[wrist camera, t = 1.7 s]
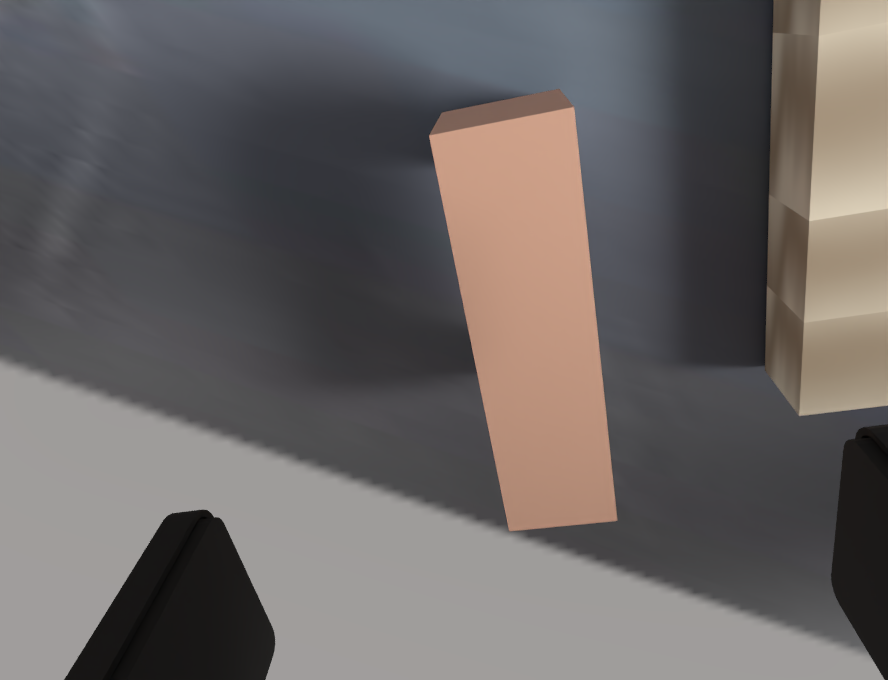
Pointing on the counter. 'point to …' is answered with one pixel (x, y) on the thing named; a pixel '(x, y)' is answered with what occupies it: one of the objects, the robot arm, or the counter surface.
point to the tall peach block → (529, 303)
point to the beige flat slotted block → (828, 205)
